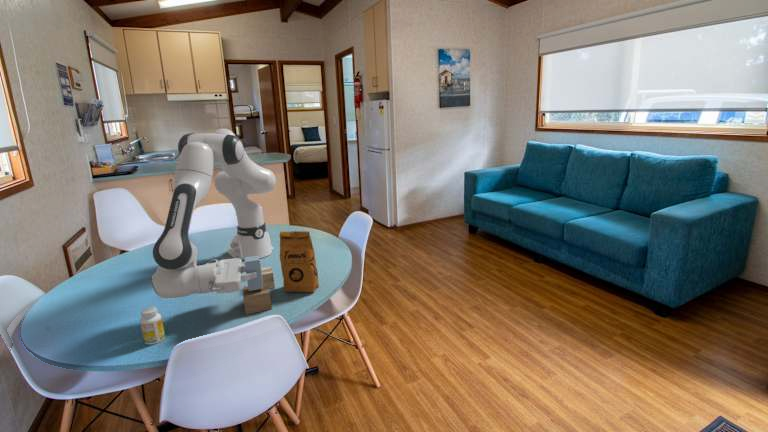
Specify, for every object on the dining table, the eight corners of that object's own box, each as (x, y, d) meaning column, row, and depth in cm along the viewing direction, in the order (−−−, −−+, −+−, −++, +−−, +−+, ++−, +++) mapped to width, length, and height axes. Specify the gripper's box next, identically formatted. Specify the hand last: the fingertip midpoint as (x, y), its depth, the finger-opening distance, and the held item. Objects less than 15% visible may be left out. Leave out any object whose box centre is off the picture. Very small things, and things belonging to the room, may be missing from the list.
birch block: (256, 284, 149) (254, 269, 148) (272, 281, 151) (270, 266, 150) (257, 291, 144) (255, 275, 142) (274, 287, 146) (272, 272, 145)
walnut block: (246, 303, 135) (243, 286, 134) (270, 298, 138) (268, 282, 136) (245, 313, 128) (243, 296, 126) (271, 309, 130) (269, 292, 129)
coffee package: (314, 295, 138) (308, 235, 133) (280, 294, 140) (273, 235, 135) (322, 283, 148) (317, 226, 142) (290, 282, 150) (284, 226, 144)
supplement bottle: (148, 347, 112) (141, 316, 109) (141, 341, 115) (134, 311, 113) (168, 338, 116) (162, 308, 113) (161, 332, 119) (154, 303, 117)
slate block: (248, 291, 128) (244, 262, 126) (248, 285, 132) (244, 257, 130) (263, 288, 129) (259, 259, 127) (262, 283, 134) (259, 255, 131)
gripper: (206, 281, 115) (255, 273, 119) (212, 257, 134) (255, 251, 138) (209, 301, 117) (258, 293, 121) (215, 275, 136) (257, 268, 140)
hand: (256, 270), depth 130 cm, fingers closed on slate block, 4 cm apart
